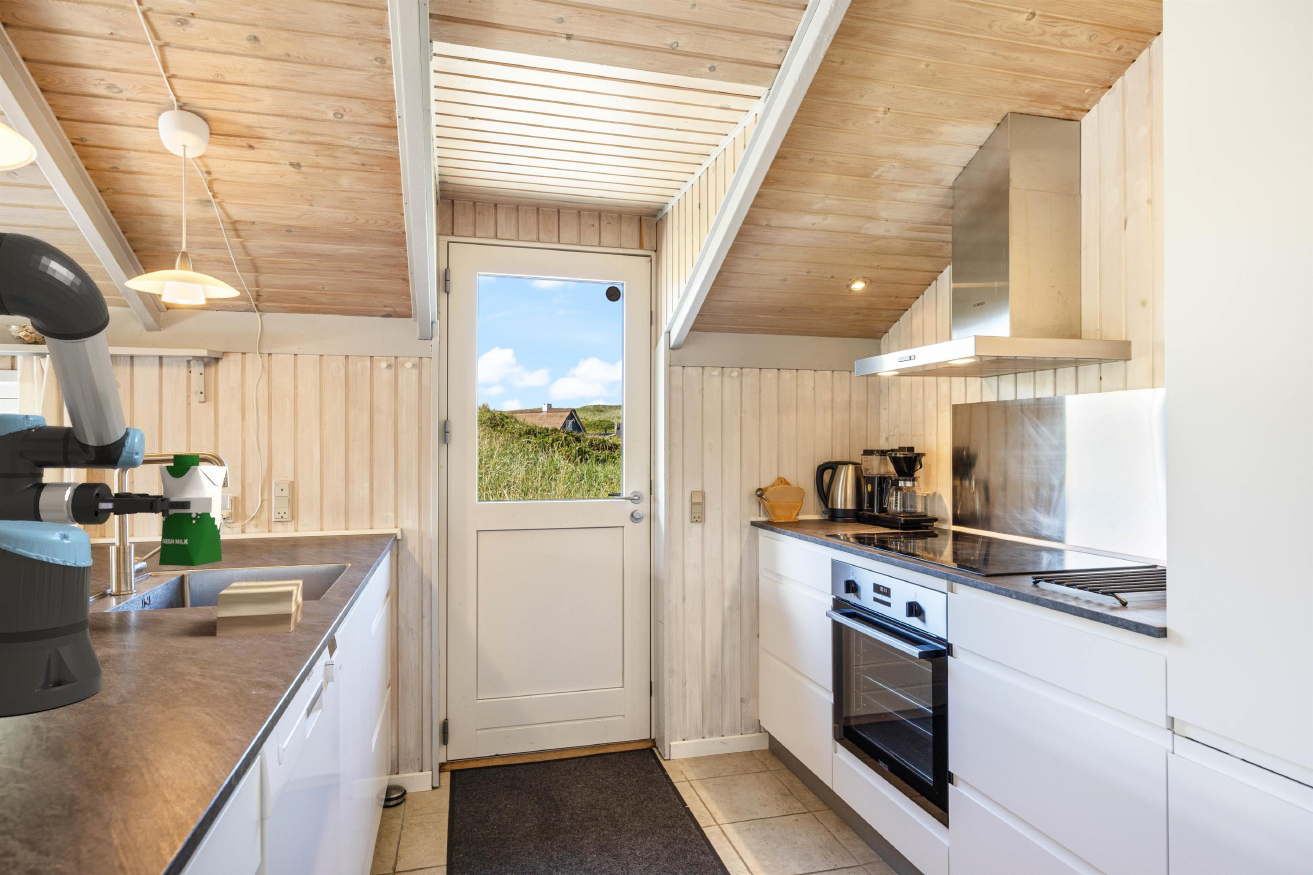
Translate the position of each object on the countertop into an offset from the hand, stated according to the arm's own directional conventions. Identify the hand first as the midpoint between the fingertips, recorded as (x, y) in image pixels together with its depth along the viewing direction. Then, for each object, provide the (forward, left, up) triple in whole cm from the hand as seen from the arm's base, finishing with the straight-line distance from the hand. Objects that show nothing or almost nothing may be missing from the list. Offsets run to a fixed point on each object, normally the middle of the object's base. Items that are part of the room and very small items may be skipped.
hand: (220, 503), depth 136 cm
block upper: (-1, -8, -20) cm, 21 cm away
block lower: (-1, -8, -24) cm, 25 cm away
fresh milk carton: (0, +4, -11) cm, 12 cm away
